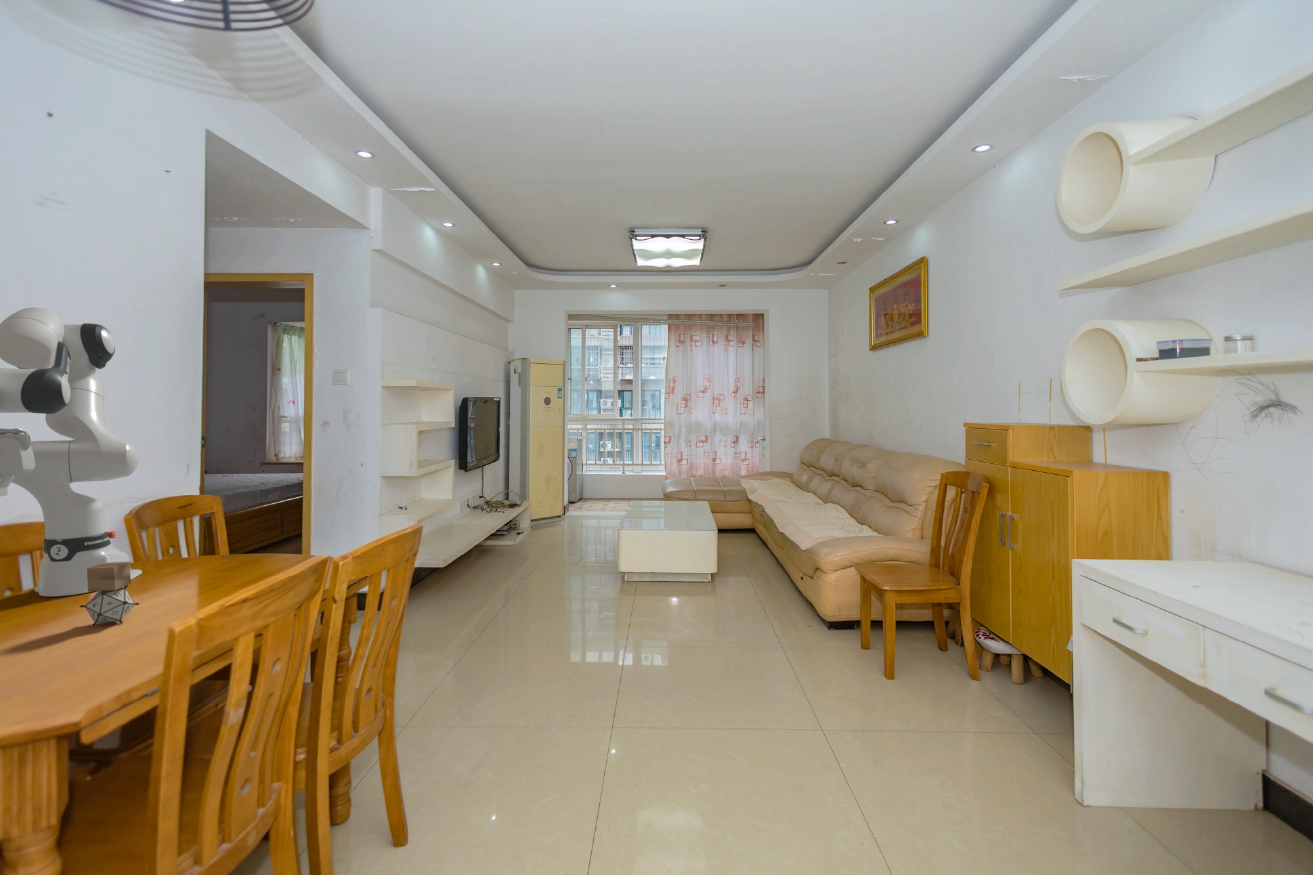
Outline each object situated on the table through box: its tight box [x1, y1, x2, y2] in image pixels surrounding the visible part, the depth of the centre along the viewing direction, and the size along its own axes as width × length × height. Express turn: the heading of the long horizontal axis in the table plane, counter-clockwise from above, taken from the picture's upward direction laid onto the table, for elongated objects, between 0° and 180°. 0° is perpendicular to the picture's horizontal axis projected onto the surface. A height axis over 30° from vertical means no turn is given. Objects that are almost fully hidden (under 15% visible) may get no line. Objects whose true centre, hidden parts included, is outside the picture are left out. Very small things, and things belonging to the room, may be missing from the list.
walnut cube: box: [87, 561, 132, 593], centre depth 129 cm, size 5×5×5 cm
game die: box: [78, 585, 140, 628], centre depth 129 cm, size 9×8×10 cm
